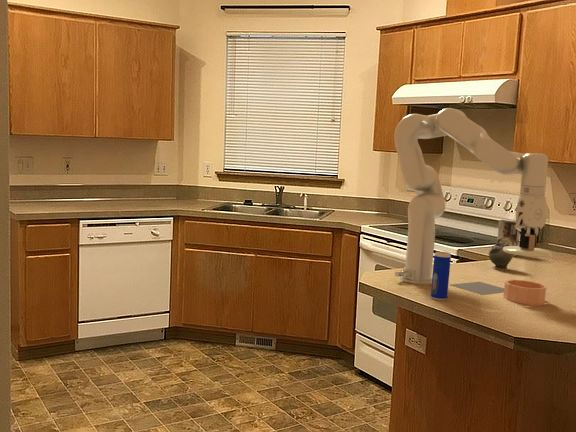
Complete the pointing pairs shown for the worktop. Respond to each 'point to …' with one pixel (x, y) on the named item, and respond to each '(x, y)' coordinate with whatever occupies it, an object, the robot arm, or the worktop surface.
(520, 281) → the bowl
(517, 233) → the coffee box
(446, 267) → the beverage can
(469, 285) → the mat
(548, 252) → the lid
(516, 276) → the worktop surface
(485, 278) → the worktop surface
